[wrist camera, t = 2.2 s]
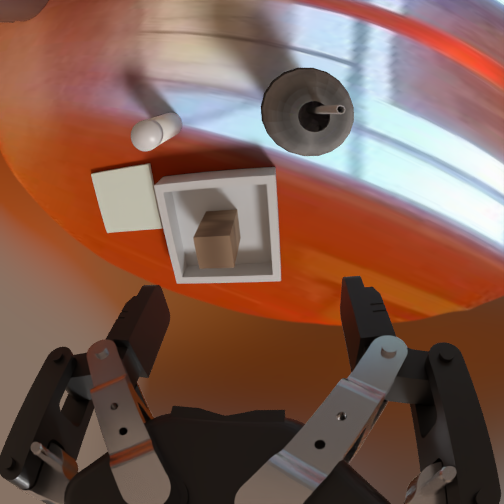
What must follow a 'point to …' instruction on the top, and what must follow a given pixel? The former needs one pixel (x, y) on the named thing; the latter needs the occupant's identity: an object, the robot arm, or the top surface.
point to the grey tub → (214, 199)
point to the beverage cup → (307, 112)
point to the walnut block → (217, 239)
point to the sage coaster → (127, 198)
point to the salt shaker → (155, 131)
